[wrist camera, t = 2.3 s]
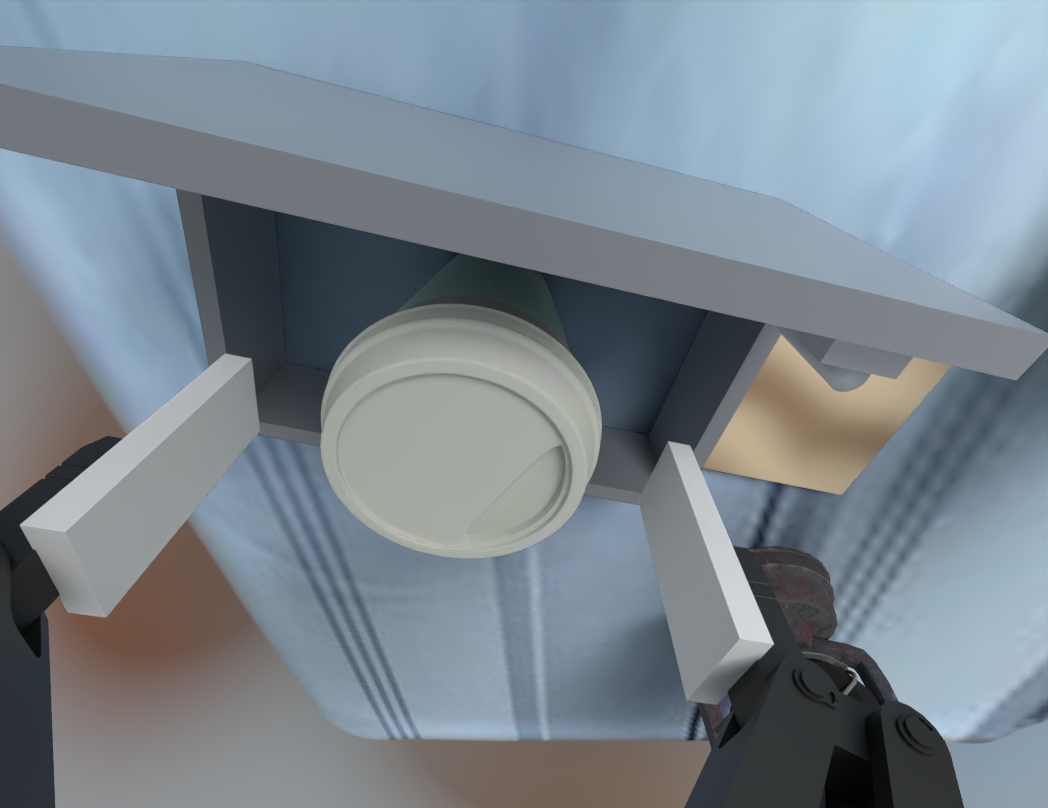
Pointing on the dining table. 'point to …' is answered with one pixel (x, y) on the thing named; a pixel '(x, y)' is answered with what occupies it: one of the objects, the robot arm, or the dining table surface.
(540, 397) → the coffee cup
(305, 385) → the case
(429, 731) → the dining table surface
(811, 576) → the lantern
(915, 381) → the cork pad
